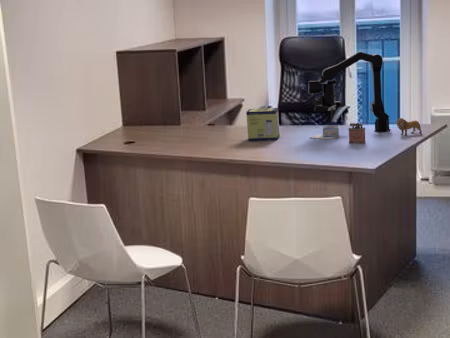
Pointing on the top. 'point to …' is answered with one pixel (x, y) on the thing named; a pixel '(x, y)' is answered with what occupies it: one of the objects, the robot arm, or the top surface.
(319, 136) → the felt pad
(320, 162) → the top surface
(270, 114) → the protein box
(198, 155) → the top surface
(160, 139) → the top surface
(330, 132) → the medicine box
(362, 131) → the lighter
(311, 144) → the top surface
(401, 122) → the lion figurine
